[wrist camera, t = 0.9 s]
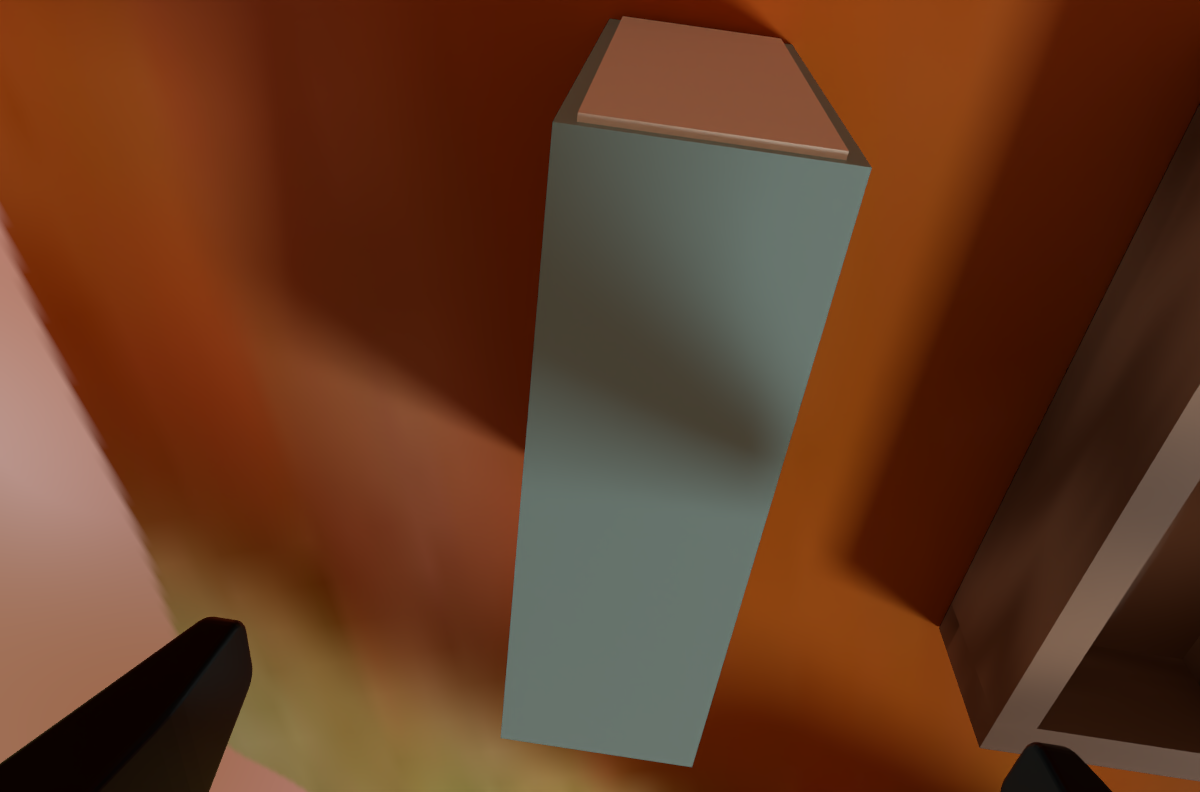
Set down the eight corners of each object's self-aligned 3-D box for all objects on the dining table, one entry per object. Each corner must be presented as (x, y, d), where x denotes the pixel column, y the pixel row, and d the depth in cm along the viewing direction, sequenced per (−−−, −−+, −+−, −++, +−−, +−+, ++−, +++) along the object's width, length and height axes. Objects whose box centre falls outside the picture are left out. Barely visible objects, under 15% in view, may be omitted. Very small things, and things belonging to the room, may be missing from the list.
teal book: (690, 489, 22) (692, 767, 15) (558, 469, 22) (500, 737, 15) (792, 38, 16) (873, 158, 9) (610, 12, 16) (553, 112, 9)
